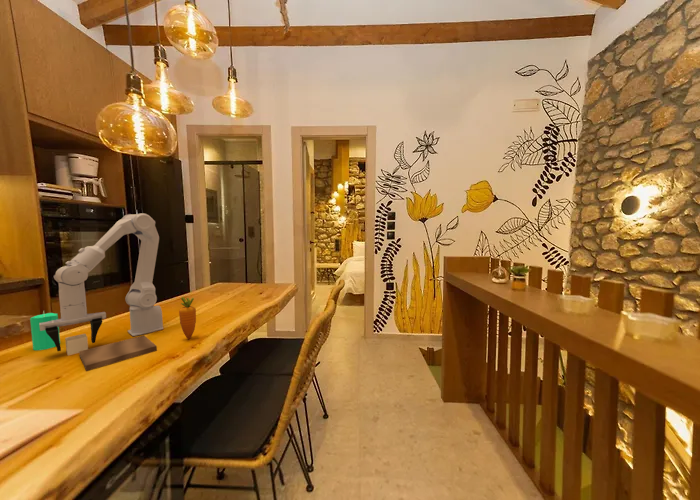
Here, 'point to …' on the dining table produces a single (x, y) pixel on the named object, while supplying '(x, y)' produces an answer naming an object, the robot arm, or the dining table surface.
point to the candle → (41, 337)
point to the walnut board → (116, 352)
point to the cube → (76, 344)
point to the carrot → (187, 317)
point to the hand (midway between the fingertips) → (76, 346)
